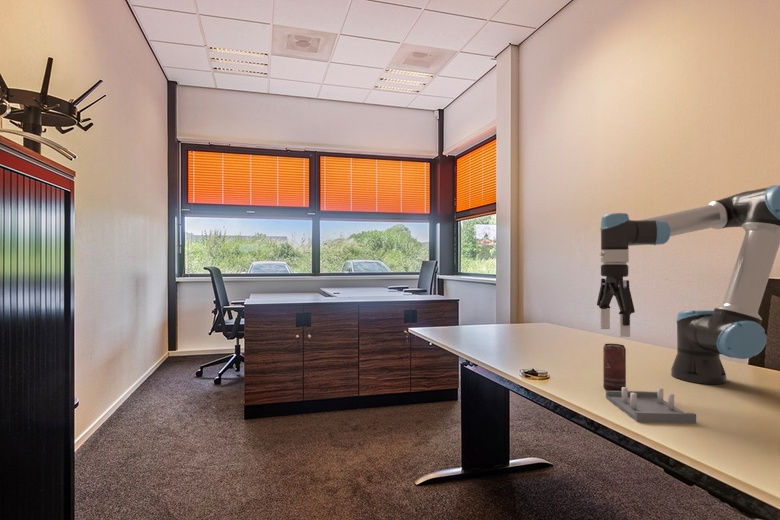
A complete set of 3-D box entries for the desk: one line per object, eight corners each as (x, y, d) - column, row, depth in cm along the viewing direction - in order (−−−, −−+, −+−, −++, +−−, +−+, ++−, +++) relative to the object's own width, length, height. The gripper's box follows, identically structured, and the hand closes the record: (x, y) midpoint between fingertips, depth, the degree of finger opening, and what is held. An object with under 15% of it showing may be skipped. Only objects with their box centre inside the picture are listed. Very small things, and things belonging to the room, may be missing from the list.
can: (618, 394, 126) (618, 347, 126) (599, 388, 132) (599, 343, 132) (631, 391, 129) (630, 345, 129) (611, 386, 135) (611, 342, 135)
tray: (656, 399, 122) (656, 382, 122) (696, 423, 104) (696, 402, 104) (605, 398, 123) (605, 380, 123) (636, 421, 105) (636, 401, 105)
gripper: (586, 263, 143) (586, 326, 143) (620, 264, 118) (620, 339, 118) (609, 263, 143) (609, 326, 143) (648, 264, 118) (648, 340, 118)
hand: (614, 332), depth 130 cm, fingers open, 13 cm apart
